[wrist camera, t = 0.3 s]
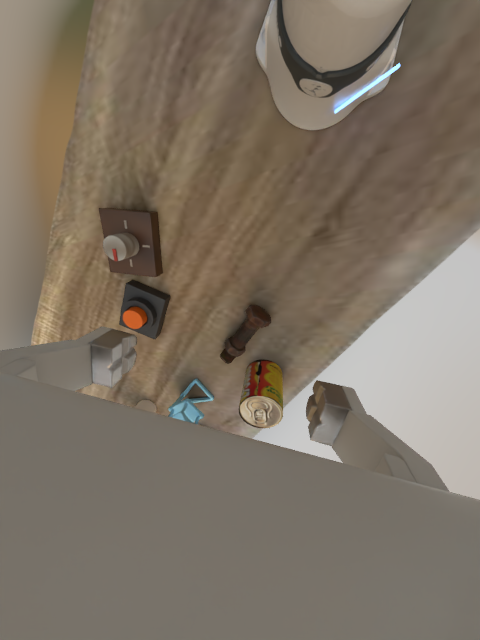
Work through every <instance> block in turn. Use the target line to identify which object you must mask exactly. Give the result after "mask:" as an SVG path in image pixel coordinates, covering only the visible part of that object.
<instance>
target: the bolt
mask: <svg viewBox="0 0 480 640" xmlns="http://www.w3.org/2000/svg"><path fill="white" fill-rule="evenodd" d="M245 312H246V314H247V316H248V317H247V319H246V321H245V322H244V323H243V325H242V326H241V328H240V329H239V330H238V332H237V333H236V334H235V336H234V337H230V338H228V339H227V340H226V341H225V349H224V350H223V352H222V353H221V354H220V358H221V359H222V360H223V361H224V362H225V363H227V364H229V363H231V362H232V361H233V359H234V358H235V357H238V356H240V355H242V354H243V353H244V352H245V345H246V344H247V342H248V341H249V340H250V339H251V337H252V336H253V335H254V334H255V332H256V331H257V330H258V329H259V328H260V327H261V328H263V327H266V326H269V324H270V323H271V317H270V315H269V314H268V313H267V312H266V311H265V310H264V309H263V308H261V307H259V306H256V305H251V306H249V307H248V308H247V309H246V311H245Z"/></svg>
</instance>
